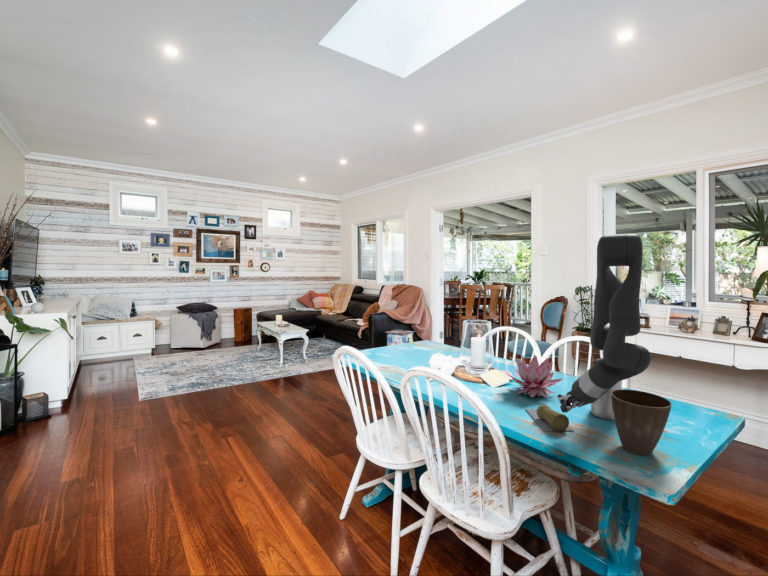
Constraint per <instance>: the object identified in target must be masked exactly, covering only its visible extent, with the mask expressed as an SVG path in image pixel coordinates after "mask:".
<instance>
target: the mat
mask: <svg viewBox="0 0 768 576" xmlns="http://www.w3.org/2000/svg"><path fill="white" fill-rule="evenodd" d="M525 411H526V412H527V414H529V416H530V417H531V418H532V420H534V422H535V421H536V424H537V425H538V426H539V427H540V428H541V430H542V431H545V432H547V431H549V432H556V431H555V430H554V429H553V428H552V427H551V426H550V425H549V424H548V423H547V422H546V421H545V420H542V419H540V418H539V417H538V415H537V408H525ZM564 432H575V430H574V429H573V427H571V426H570V424H569V425H568V428H567V429H566V430H565V431H564Z"/></svg>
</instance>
